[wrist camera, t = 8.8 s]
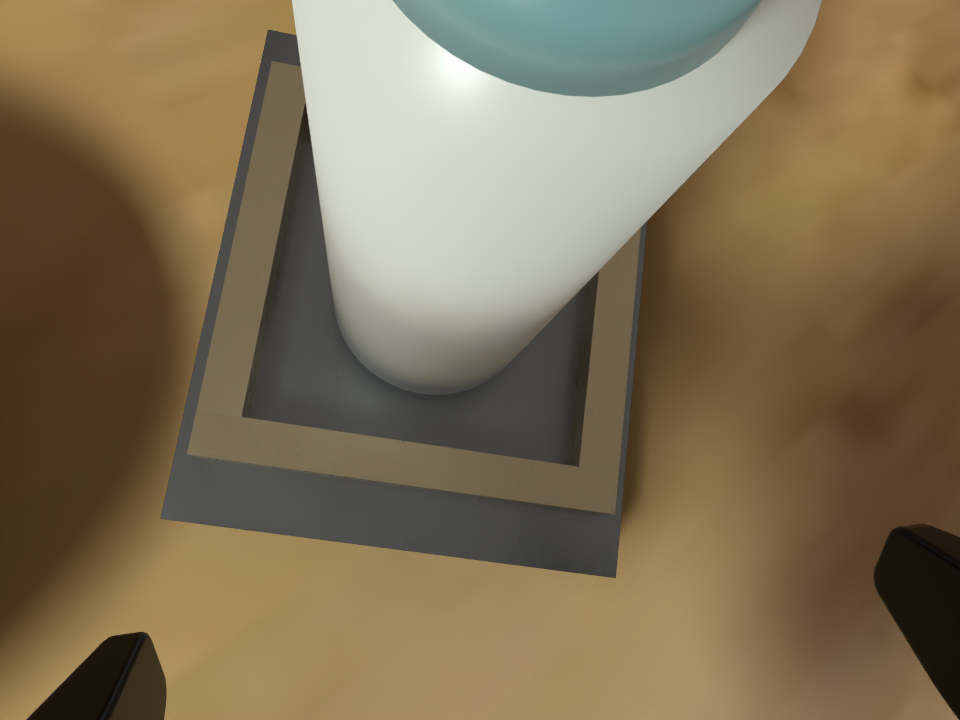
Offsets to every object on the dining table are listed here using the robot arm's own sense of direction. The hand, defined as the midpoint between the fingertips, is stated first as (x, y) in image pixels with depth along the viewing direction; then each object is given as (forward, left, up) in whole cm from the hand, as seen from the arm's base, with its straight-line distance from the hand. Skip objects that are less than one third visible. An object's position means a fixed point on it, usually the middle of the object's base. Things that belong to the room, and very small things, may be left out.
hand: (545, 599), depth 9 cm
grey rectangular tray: (+6, +1, -12) cm, 14 cm away
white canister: (+6, +1, -10) cm, 12 cm away
